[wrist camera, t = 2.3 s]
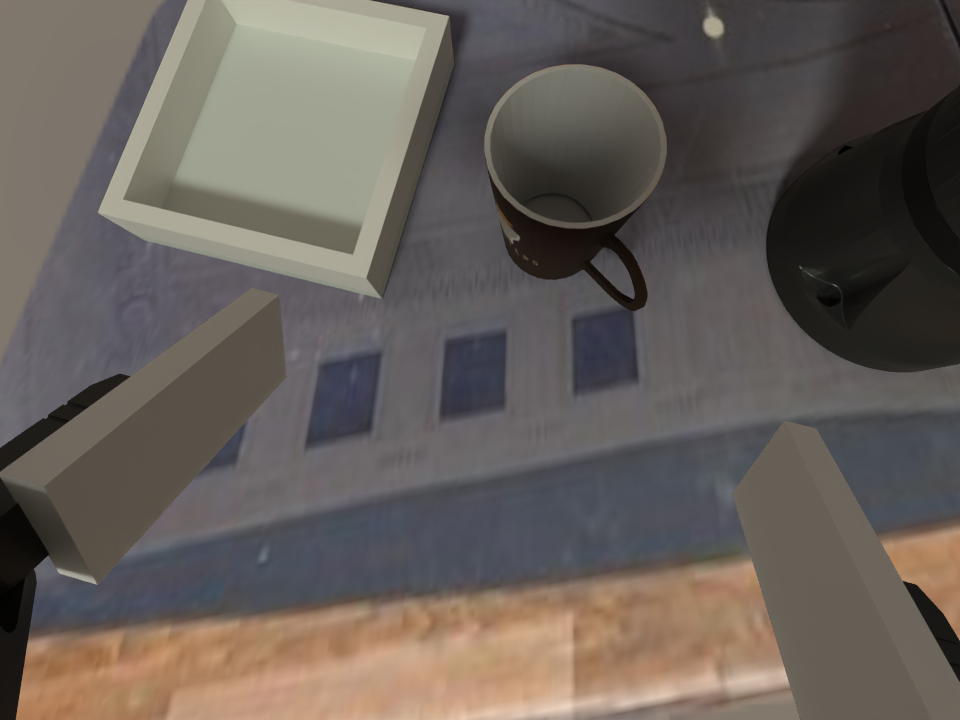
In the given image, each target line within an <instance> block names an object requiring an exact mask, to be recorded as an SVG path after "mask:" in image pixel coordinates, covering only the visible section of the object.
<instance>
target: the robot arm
mask: <svg viewBox="0 0 960 720" xmlns="http://www.w3.org/2000/svg"><path fill="white" fill-rule="evenodd" d="M767 257H768V265H769V270H770V274H771V278H772V281H773V284H774V286H775V289H776V291H777V293H778V296H779V298H780V299H781V301H782V303H783V305H784V306H785V308H786V309H787V311H788V312H789V314H790V315H791V317H792V318H793V319H794V320H795V322H796V323H797V324H798V325H799V326H800V327H801V328H802V329H803V330H804V331H805V332H806V333H807V334H808V335H809V336H810V337H811V338H812V339H814V340H815V341H816V342H817V343H819V344H820V345H822V346H823V347H824V348H826V349H827V350H829V351H831V352H832V353H834V354H836V355H838V356H840V357H842V358H844V359H846V360H848V361H851V362H853V363H856V364H858V365H861V366H865V367H868V368H872V369H877V370H882V371H890V372H916V371H923V370H929V369H935V368H940V367H946V366H951V365H956V364H960V86H959V87H957V88H956V89H955V90H954V91H952V92H951V93H950V94H948V95H947V96H946V97H944V98H943V99H942V100H941V101H939V102H938V103H937V104H935V105H934V106H933V107H932V108H930V109H929V110H927V111H924V112H922V113H919V114H917V115H915V116H912V117H910V118H907V119H905V120H902V121H900V122H898V123H895V124H893V125H891V126H888V127H886V128H884V129H883V130H881V131H879V132H878V133H875V134H871V135H867V136H864V137H861V138H858V139H856V140H853V141H851V142H848V143H846V144H844V145H842V146H840V147H838V148H837V149H835V150H833V151H831V152H830V153H828V154H827V155H825V156H824V157H823V158H821V159H820V160H819V161H817V162H816V163H815V164H814V165H813V166H812V167H810V168H809V169H808V170H807V171H806V172H805V173H804V174H803V175H801V176H800V177H799V178H798V179H797V180H796V181H795V182H794V183H793V184H792V185H791V186H790V187H789V188H788V189H787V191H786V192H785V194H784V195H783V196H782V198H781V200H780V201H779V203H778V205H777V207H776V209H775V211H774V214H773V216H772V219H771V222H770V227H769V231H768V239H767ZM285 378H286V368H285V356H284V345H283V334H282V323H281V311H280V300H279V295H277V294H273V293H269V292H265V291H261V290H257V289H253V288H251V289H250V290H249V291H247V292H246V293H244V294H243V295H242V296H240V297H239V298H238V299H236V300H235V301H233V302H232V303H231V304H229V305H228V306H227V307H225V308H224V309H223V310H221V311H220V312H218V313H217V314H216V315H214V316H213V317H212V318H210V319H209V320H207V321H206V322H205V323H203V324H202V325H201V326H199V327H198V328H196V329H195V330H194V331H192V332H191V333H190V334H188V335H187V336H186V337H184V338H183V339H181V340H180V341H179V342H177V343H176V344H175V345H173V346H172V347H170V348H169V349H168V350H166V351H165V352H164V353H162V354H161V355H159V356H158V357H157V358H155V359H154V360H153V361H151V362H150V363H149V364H147V365H146V366H144V367H143V368H142V369H140V370H139V371H138V372H136V373H135V374H133V375H132V376H127V375H123V374H118V375H115V376H113V377H110V378H108V379H105V380H103V381H100V382H98V383H95V384H93V385H91V386H89V387H88V388H86V389H85V390H83V391H82V392H80V393H79V394H78V395H76V396H75V397H73V398H72V399H70V400H69V401H68V403H67V405H62V406H60V407H59V408H57V409H56V410H54V411H53V412H51V413H50V414H49V415H48V418H47V419H44V418H43V419H41V420H40V421H38V422H37V423H36V424H34V425H33V426H31V427H30V428H28V429H27V430H25V431H24V432H22V433H21V434H20V435H18V436H17V437H15V438H14V439H12V440H11V441H9V442H8V443H7V444H5V445H4V446H2V447H1V448H0V720H16V714H17V707H18V701H19V694H20V688H21V681H22V675H23V668H24V662H25V655H26V649H27V642H28V635H29V629H30V622H31V616H32V609H33V603H34V596H35V590H36V583H37V581H36V574H35V571H34V568H35V567H36V566H37V565H38V564H39V563H40V562H42V561H43V560H44V559H45V558H46V557H47V556H48V555H49V557H50V559H51V560H52V562H53V564H54V565H55V567H56V568H57V570H58V572H59V573H60V574H63V575H67V576H70V577H73V578H77V579H80V580H83V581H87V582H90V583H93V584H97V585H98V584H99V583H100V581H101V580H102V579H103V578H104V577H105V576H106V575H107V574H108V573H109V572H110V570H111V569H112V568H113V567H114V566H115V565H116V564H117V563H118V562H119V561H120V559H121V558H122V557H123V556H124V555H125V554H126V553H127V552H128V551H129V550H130V548H131V547H132V546H133V545H134V544H135V543H136V542H137V541H138V540H139V539H140V537H141V536H142V535H143V534H144V533H145V532H146V531H147V530H148V529H149V528H150V526H151V525H152V524H153V523H154V522H155V521H156V520H157V519H158V518H159V517H160V515H161V514H162V513H163V512H164V511H165V510H166V509H167V508H168V507H169V506H170V504H171V503H172V502H173V501H174V500H175V499H176V498H177V497H178V496H179V495H180V493H181V492H182V491H183V490H184V489H185V488H186V487H187V486H188V485H189V484H190V482H191V481H192V480H193V479H194V478H195V477H196V476H197V475H198V474H199V473H200V471H201V470H202V469H203V468H204V467H205V466H206V465H207V464H208V463H209V462H210V460H211V459H212V458H213V457H214V456H215V455H216V454H217V453H218V452H219V451H220V449H221V448H222V447H223V446H224V445H225V444H226V443H227V442H228V441H229V440H230V438H231V437H232V436H233V435H234V434H235V433H236V432H237V431H238V430H239V429H240V427H241V426H242V425H243V424H244V423H245V422H246V421H247V420H248V419H249V418H250V416H251V415H252V414H253V413H254V412H255V411H256V410H257V409H258V408H259V407H260V405H261V404H262V403H263V402H264V401H265V400H266V399H267V398H268V397H269V396H270V394H271V393H272V392H273V391H274V390H275V389H276V388H277V387H278V386H279V385H280V383H281V382H282V381H283V380H284V379H285ZM732 494H733V498H734V501H735V504H736V508H737V511H738V514H739V518H740V521H741V524H742V528H743V531H744V534H745V538H746V541H747V544H748V547H749V551H750V554H751V557H752V561H753V564H754V567H755V571H756V574H757V577H758V581H759V584H760V587H761V591H762V594H763V597H764V601H765V604H766V607H767V611H768V614H769V617H770V621H771V624H772V627H773V631H774V634H775V637H776V641H777V644H778V647H779V650H780V654H781V657H782V660H783V664H784V667H785V670H786V674H787V677H788V680H789V684H790V687H791V690H792V694H793V697H794V700H795V704H796V707H797V710H798V714H799V717H800V720H960V641H959V639H958V637H957V636H956V634H955V632H954V631H953V629H952V627H951V626H950V624H949V622H948V621H947V619H946V617H945V616H944V614H943V613H942V612H941V611H940V610H939V609H938V607H937V606H936V605H935V604H934V603H933V602H932V601H931V600H930V599H929V598H928V597H927V596H926V594H925V593H924V592H923V591H922V590H921V589H920V588H919V587H918V586H917V585H915V584H912V583H908V582H904V581H902V579H901V578H900V576H899V574H898V572H897V571H896V569H895V567H894V565H893V564H892V562H891V560H890V558H889V556H888V555H887V553H886V551H885V549H884V548H883V546H882V544H881V542H880V541H879V539H878V537H877V535H876V533H875V532H874V530H873V528H872V526H871V525H870V523H869V521H868V519H867V518H866V516H865V514H864V512H863V511H862V509H861V507H860V505H859V503H858V502H857V500H856V498H855V496H854V495H853V493H852V491H851V489H850V488H849V486H848V484H847V482H846V480H845V479H844V477H843V475H842V473H841V472H840V470H839V468H838V466H837V465H836V463H835V461H834V459H833V457H832V456H831V454H830V452H829V450H828V449H827V447H826V445H825V443H824V442H823V440H822V438H821V436H820V434H819V433H818V431H817V429H816V428H812V427H808V426H804V425H800V424H796V423H792V422H788V421H784V422H783V423H782V424H781V426H780V427H779V429H778V430H777V431H776V433H775V434H774V436H773V437H772V438H771V440H770V441H769V443H768V444H767V445H766V447H765V448H764V450H763V451H762V452H761V454H760V455H759V457H758V458H757V459H756V461H755V462H754V464H753V465H752V466H751V468H750V469H749V471H748V472H747V473H746V475H745V476H744V478H743V479H742V480H741V482H740V483H739V485H738V486H737V487H736V489H735V490H734V492H733V493H732Z"/></svg>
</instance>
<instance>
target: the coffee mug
mask: <svg viewBox="0 0 960 720" xmlns="http://www.w3.org/2000/svg"><path fill="white" fill-rule="evenodd" d="M484 153H485V159H486V164H487V169H488V173H489V177H490V182H491V186H492V190H493V194H494V198H495V203H496V207H497V211H498V215H499V220H500V224H501V228H502V232H503V237H504V241H505V245H506V248H507V251H508V253H509V255H510V257H511V258H512V260H513V261H514V263H515V264H516V265H517V266H518V267H519V268H520V269H522V270H523V271H525V272H526V273H528V274H530V275H532V276H535V277H537V278H542V279H552V280H556V279H562V278H566V277H569V276H572V275H574V274H576V273H577V272H579V271H581V270H582V269H583V270H585V271H586V272H587V273H588V274H589V275H590V276H591V277H592V278H593V279H594V280H595V281H596V282H597V283H598V284H599V285H600V286H601V287H602V288H603V289H604V290H605V291H606V292H607V293H608V294H609V295H610V296H611V297H612V298H613V299H614V300H615V301H617V302H618V303H619V304H621V305H622V306H623V307H625V308H627V309H629V310H631V311H636V310H638V309H640V308H642V307H644V306H645V303H646V301H647V295H648V293H647V288H646V284H645V281H644V278H643V275H642V273H641V270H640V268H639V266H638V264H637V261H636V260H635V258H634V256H633V254H632V253H631V252H630V251H629V250H628V249H627V248H626V246H625V245H624V244H623V243H622V242H621V241H620V240H619V239H618V238H616V237H615V236H614V235H615V234H616V233H617V231H618V230H619V229H620V228H621V227H622V226H623V225H624V224H625V223H626V222H627V220H628V219H629V218H630V217H631V216H632V215H633V214H634V213H635V212H636V210H637V209H638V208H639V207H640V206H641V205H642V204H643V203H644V202H645V201H646V199H647V198H648V197H649V196H650V194H651V193H652V191H653V190H654V189H655V187H656V186H657V184H658V182H659V180H660V177H661V175H662V173H663V170H664V167H665V161H666V156H667V138H666V133H665V129H664V125H663V121H662V119H661V117H660V115H659V113H658V111H657V109H656V107H655V105H654V104H653V103H652V101H651V100H650V99H649V98H648V96H647V95H646V94H645V93H644V92H643V91H642V90H641V89H640V88H638V87H637V86H636V85H635V84H634V83H633V82H631V81H630V80H628V79H626V78H624V77H623V76H621V75H619V74H617V73H615V72H612V71H610V70H607V69H604V68H601V67H596V66H591V65H585V64H564V65H558V66H553V67H548V68H545V69H542V70H540V71H537V72H534V73H532V74H530V75H528V76H527V77H525V78H523V79H521V80H520V81H518V82H517V83H516V84H515V85H513V86H512V87H511V88H510V89H509V90H508V91H507V92H505V94H504V95H503V96H502V98H501V99H500V100H499V101H498V103H497V104H496V105H495V107H494V109H493V111H492V113H491V115H490V118H489V120H488V123H487V127H486V131H485V137H484ZM603 247H606V248H610V249H612V250H613V251H614V252H615V253H616V254H617V255H618V256H619V258H620V259H621V260H622V262H623V263H624V265H625V266H626V268H627V270H628V272H629V274H630V277H631V279H632V283H633V286H634V291H635V297H634V299H631V298H629V297H628V296H626V295H624V294H622V293H621V292H620V291H618V290H617V289H616V288H615V287H614V286H613V285H612V284H611V283H610V282H609V281H608V280H607V279H606V278H605V277H604V276H603V275H602V274H601V273H600V272H599V271H598V270H597V269H596V268H595V267H594V266H593V265H592V264H591V263H590V261H591V260H592V259H593V258H594V257H595V256H596V255H597V253H598V252H599V251H600V250H601V249H602V248H603Z"/></svg>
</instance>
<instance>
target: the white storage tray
mask: <svg viewBox="0 0 960 720" xmlns="http://www.w3.org/2000/svg"><path fill="white" fill-rule="evenodd" d="M453 67H454V56H453V47H452V38H451V29H450V20H449V16H447V15H442V14H436V13H431V12H426V11H421V10H416V9H411V8H406V7H401V6H396V5H391V4H386V3H381V2H376V1H371V0H188V1H187V3H186V6H185V8H184V11H183V13H182V15H181V18H180V20H179V22H178V25H177V27H176V29H175V32H174V34H173V36H172V39H171V41H170V44H169V46H168V48H167V51H166V53H165V55H164V58H163V60H162V62H161V65H160V67H159V69H158V72H157V74H156V77H155V79H154V81H153V84H152V86H151V88H150V91H149V93H148V95H147V98H146V100H145V102H144V105H143V107H142V109H141V112H140V114H139V117H138V119H137V121H136V124H135V126H134V128H133V131H132V133H131V135H130V138H129V140H128V142H127V145H126V147H125V150H124V152H123V154H122V157H121V159H120V161H119V164H118V166H117V168H116V171H115V173H114V175H113V178H112V180H111V183H110V185H109V187H108V190H107V192H106V194H105V197H104V199H103V201H102V204H101V206H100V208H99V211H98V213H99V214H101V215H102V216H104V217H106V218H107V219H109V220H111V221H113V222H114V223H116V224H118V225H119V226H121V227H123V228H124V229H126V230H128V231H130V232H131V233H133V234H135V235H136V236H138V237H140V238H141V239H143V240H146V241H150V242H154V243H158V244H162V245H166V246H170V247H174V248H178V249H182V250H186V251H190V252H194V253H198V254H202V255H206V256H210V257H214V258H219V259H223V260H227V261H231V262H235V263H239V264H243V265H247V266H251V267H255V268H259V269H263V270H267V271H271V272H275V273H279V274H283V275H287V276H291V277H295V278H300V279H304V280H308V281H312V282H316V283H320V284H324V285H328V286H332V287H336V288H340V289H344V290H348V291H352V292H356V293H360V294H364V295H368V296H372V297H376V298H381V299H382V297H383V294H384V291H385V288H386V284H387V281H388V278H389V275H390V271H391V268H392V265H393V262H394V258H395V255H396V252H397V249H398V245H399V242H400V239H401V236H402V232H403V229H404V226H405V223H406V219H407V216H408V213H409V210H410V206H411V203H412V200H413V197H414V193H415V190H416V187H417V184H418V180H419V177H420V174H421V171H422V167H423V164H424V161H425V158H426V154H427V151H428V148H429V145H430V141H431V138H432V135H433V132H434V128H435V125H436V122H437V119H438V116H439V112H440V109H441V106H442V103H443V99H444V96H445V93H446V90H447V86H448V83H449V80H450V77H451V73H452V70H453Z"/></svg>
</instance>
